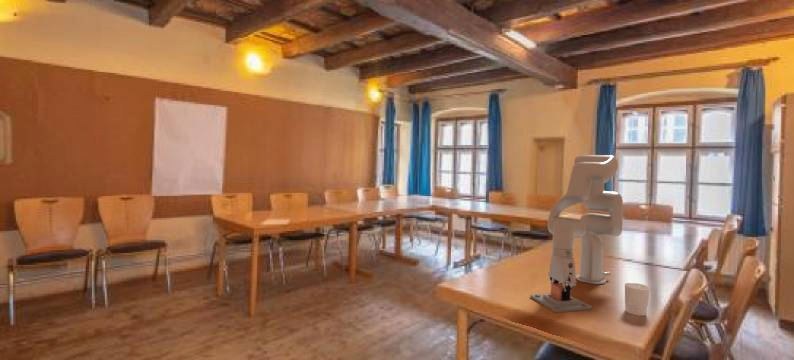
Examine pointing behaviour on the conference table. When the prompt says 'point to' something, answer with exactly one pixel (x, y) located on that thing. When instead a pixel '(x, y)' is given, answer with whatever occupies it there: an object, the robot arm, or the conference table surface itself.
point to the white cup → (636, 298)
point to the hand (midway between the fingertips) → (560, 297)
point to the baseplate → (560, 303)
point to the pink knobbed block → (557, 291)
